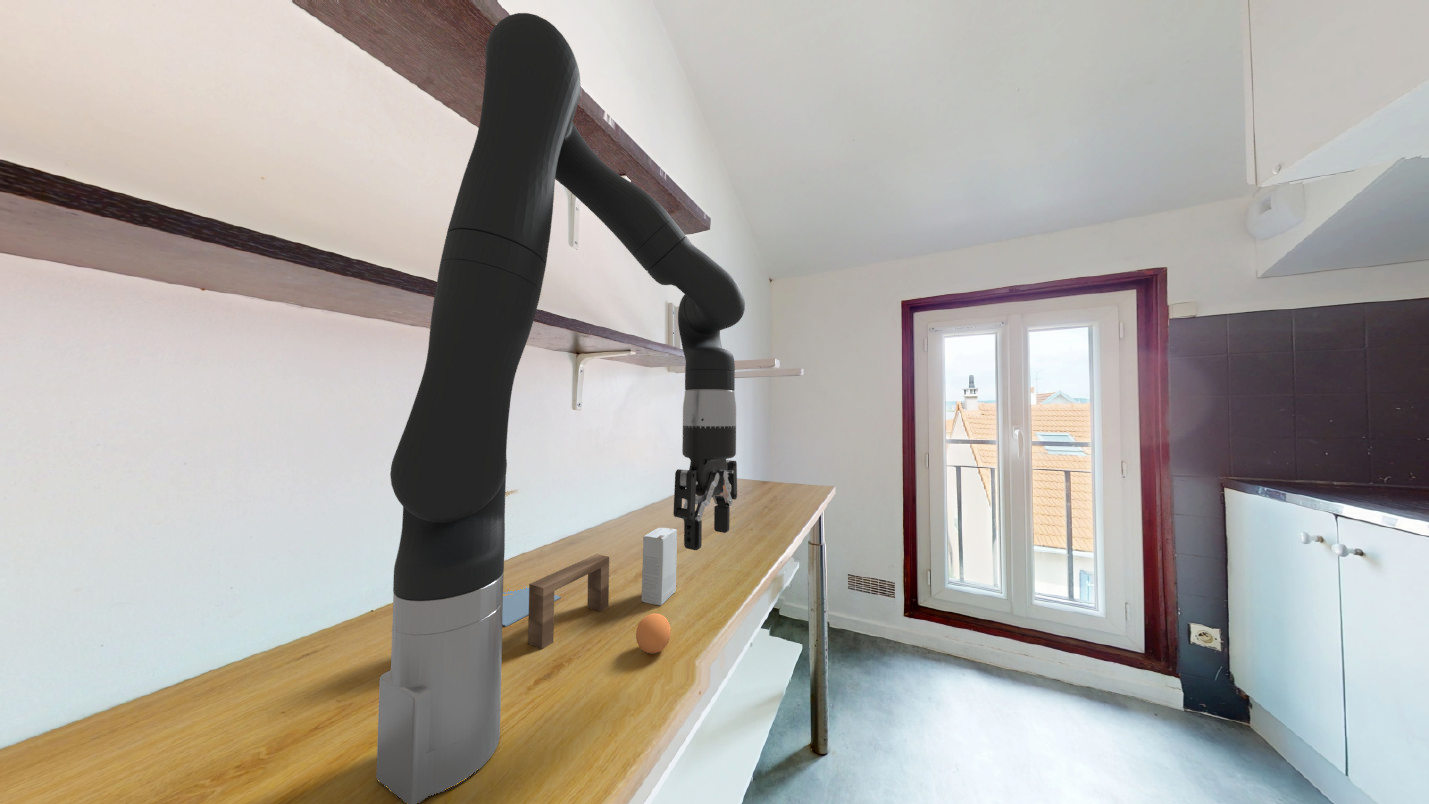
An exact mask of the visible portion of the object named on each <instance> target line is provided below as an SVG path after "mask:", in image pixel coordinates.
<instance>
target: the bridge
mask: <svg viewBox="0 0 1429 804" xmlns="http://www.w3.org/2000/svg"><path fill="white" fill-rule="evenodd" d="M586 576H587V605H586V606H587V609H591V610H594V611H597V612H602V611H604V610H606V609H607V608H608V607H610V605H609V600H610V599H609V597H610V595H609V593H610V590H609V589H610V586H609V585H610V556H607V555H603V554H598V553H596V554H593V555H591V556H589V557H586V558H585V559H582V560H580V561H577V562H575V563H573V564H570V565H568V566H566V567H565V568H562V569H559V570H558V571H555V572H553V573H551V574H549V575H546V576H544V577H542V578H539V579H537V580H535V581H532V582H530V583H528V587H529V615H528V617H527V619H528V625H527V626H528V629H527V644H528V645H530V646H533V647H535V648H537V649H538V648H539V649H541V650H543V649H545V648H546V647H548V646H549V645H551V644H553V643H554V637H555V636H554V634H555V633H554V628H555V627H554V626H555V625H554V624H555V601H554V595H555V591H557V590H559V589H561V588H564V587H565V586H567V585H569V584H571V583H574V582H575V581H577V580H579V579H581V578H583V577H586Z"/></svg>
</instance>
